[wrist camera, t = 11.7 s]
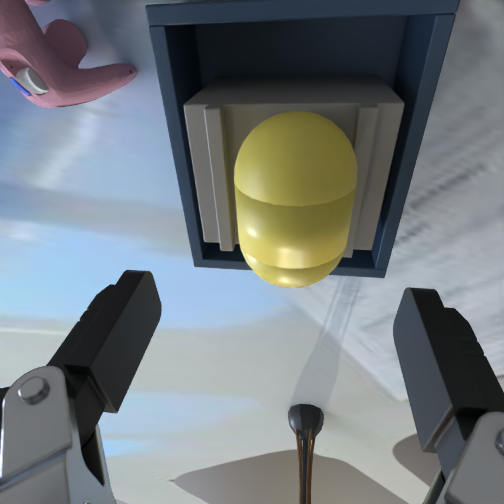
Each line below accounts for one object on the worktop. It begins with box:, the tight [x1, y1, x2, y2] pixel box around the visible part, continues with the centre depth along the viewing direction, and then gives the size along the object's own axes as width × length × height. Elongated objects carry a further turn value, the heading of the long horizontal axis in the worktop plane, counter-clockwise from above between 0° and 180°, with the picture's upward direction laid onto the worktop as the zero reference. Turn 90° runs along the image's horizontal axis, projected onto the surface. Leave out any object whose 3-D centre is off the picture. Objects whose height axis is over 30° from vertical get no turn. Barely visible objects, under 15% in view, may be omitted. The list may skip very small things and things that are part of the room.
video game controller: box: [0, 0, 137, 108], centre depth 19 cm, size 10×5×7 cm, turn 17°
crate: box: [145, 0, 460, 278], centre depth 21 cm, size 16×14×6 cm
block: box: [184, 74, 404, 258], centre depth 20 cm, size 8×10×9 cm
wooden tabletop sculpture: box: [288, 404, 324, 504], centre depth 38 cm, size 6×5×20 cm
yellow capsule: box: [234, 111, 358, 288], centre depth 15 cm, size 8×5×5 cm, turn 3°
